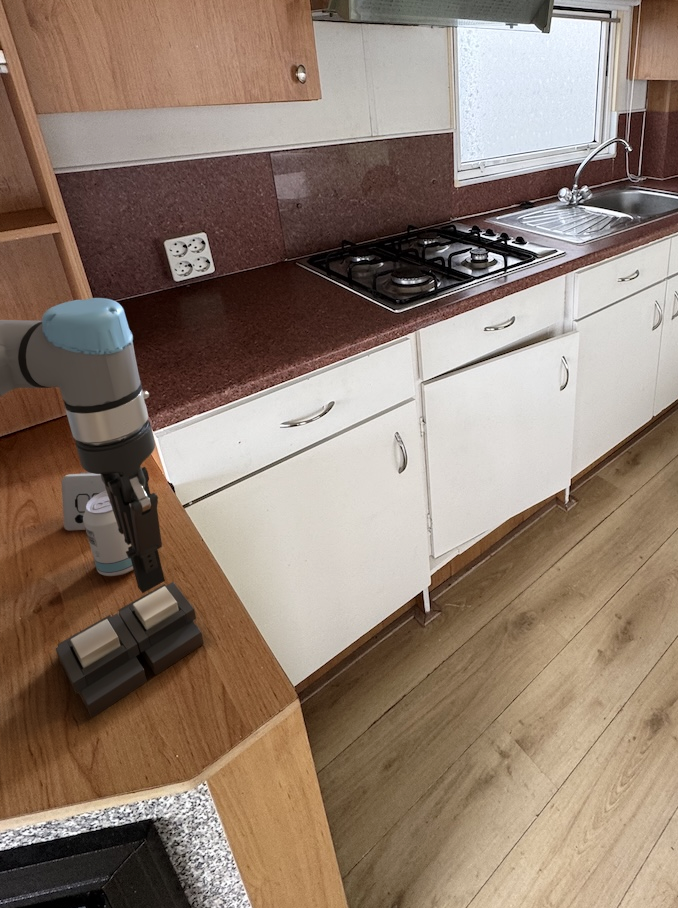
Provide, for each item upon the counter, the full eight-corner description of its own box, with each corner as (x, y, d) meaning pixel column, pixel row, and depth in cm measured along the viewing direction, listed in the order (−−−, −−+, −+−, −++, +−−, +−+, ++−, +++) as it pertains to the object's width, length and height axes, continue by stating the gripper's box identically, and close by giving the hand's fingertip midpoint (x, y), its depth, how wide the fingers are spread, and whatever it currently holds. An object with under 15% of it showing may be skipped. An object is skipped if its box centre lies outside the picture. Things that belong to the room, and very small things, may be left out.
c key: (73, 649, 72) (70, 639, 72) (109, 628, 75) (106, 618, 75) (83, 669, 70) (80, 658, 69) (120, 646, 73) (117, 636, 72)
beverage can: (150, 570, 89) (135, 506, 85) (96, 588, 85) (78, 522, 81) (149, 541, 94) (135, 480, 90) (99, 557, 91) (81, 494, 87)
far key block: (117, 623, 80) (111, 601, 79) (170, 593, 85) (165, 572, 83) (151, 678, 73) (145, 655, 71) (207, 641, 78) (202, 619, 76)
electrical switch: (63, 532, 96) (53, 482, 94) (82, 513, 101) (73, 465, 99) (123, 529, 97) (114, 480, 95) (138, 511, 102) (131, 464, 100)
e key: (135, 613, 77) (132, 603, 77) (166, 595, 80) (164, 585, 80) (146, 631, 75) (144, 621, 74) (179, 611, 78) (176, 601, 77)
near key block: (56, 659, 75) (49, 636, 73) (116, 624, 80) (110, 602, 78) (87, 721, 68) (79, 697, 66) (151, 679, 72) (145, 655, 71)
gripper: (169, 435, 67) (202, 593, 75) (128, 398, 75) (162, 544, 82) (94, 465, 61) (139, 631, 69) (58, 421, 69) (102, 575, 77)
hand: (151, 583), depth 76 cm, fingers closed
